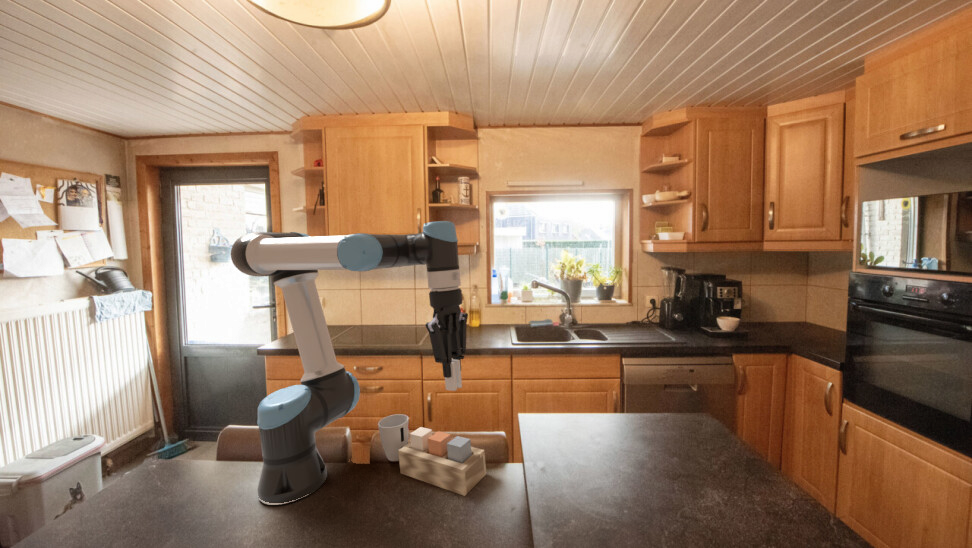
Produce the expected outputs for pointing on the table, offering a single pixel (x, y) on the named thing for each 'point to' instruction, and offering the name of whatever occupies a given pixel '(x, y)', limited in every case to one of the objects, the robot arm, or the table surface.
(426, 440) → the key white
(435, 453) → the key terracotta
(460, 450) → the key blue
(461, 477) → the wooden box
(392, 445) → the cup
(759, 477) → the table surface
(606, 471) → the table surface
